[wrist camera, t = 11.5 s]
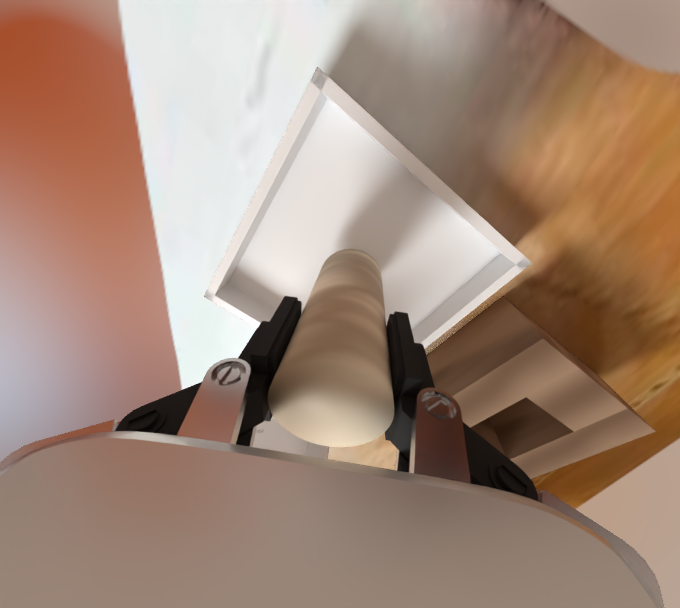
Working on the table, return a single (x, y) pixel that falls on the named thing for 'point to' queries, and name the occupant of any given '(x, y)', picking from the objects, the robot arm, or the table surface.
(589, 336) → the table surface
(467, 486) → the robot arm
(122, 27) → the table surface
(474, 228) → the tray
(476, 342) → the holder
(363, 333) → the dowel
